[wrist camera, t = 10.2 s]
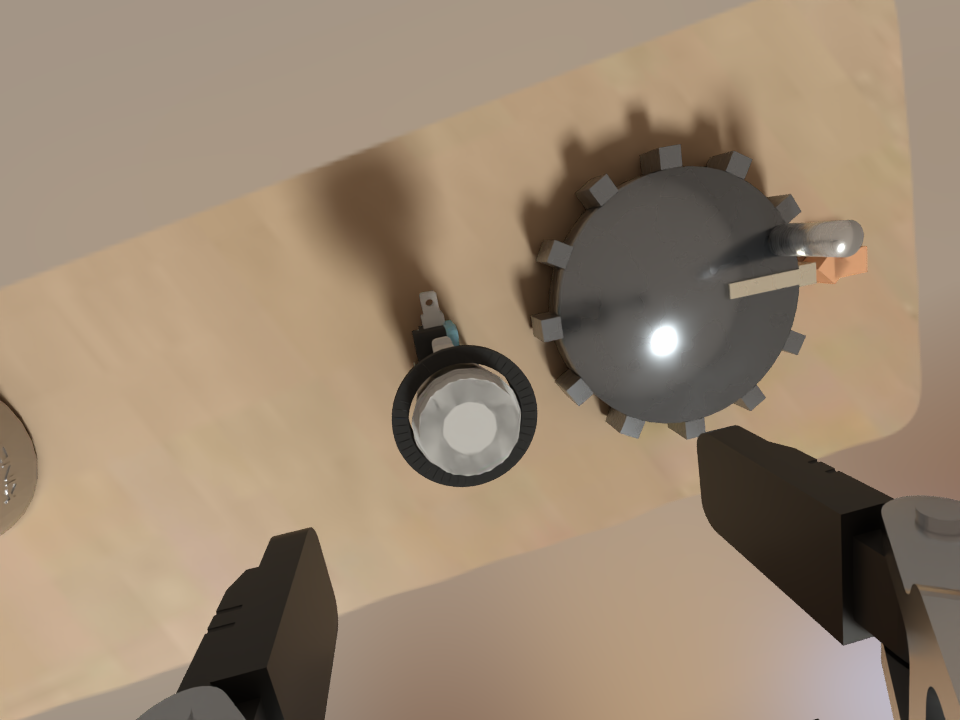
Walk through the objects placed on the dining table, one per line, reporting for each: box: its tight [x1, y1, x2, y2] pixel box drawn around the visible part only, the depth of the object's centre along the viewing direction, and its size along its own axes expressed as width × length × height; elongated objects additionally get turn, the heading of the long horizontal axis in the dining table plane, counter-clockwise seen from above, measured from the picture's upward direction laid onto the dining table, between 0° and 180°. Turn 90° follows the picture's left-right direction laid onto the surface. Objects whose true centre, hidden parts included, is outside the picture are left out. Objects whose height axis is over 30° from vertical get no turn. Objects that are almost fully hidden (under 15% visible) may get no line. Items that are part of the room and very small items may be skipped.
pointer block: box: [803, 246, 867, 284], centre depth 30 cm, size 3×2×2 cm, turn 100°
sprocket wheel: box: [531, 144, 864, 439], centre depth 26 cm, size 15×15×6 cm
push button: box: [392, 290, 537, 487], centre depth 23 cm, size 7×5×10 cm
